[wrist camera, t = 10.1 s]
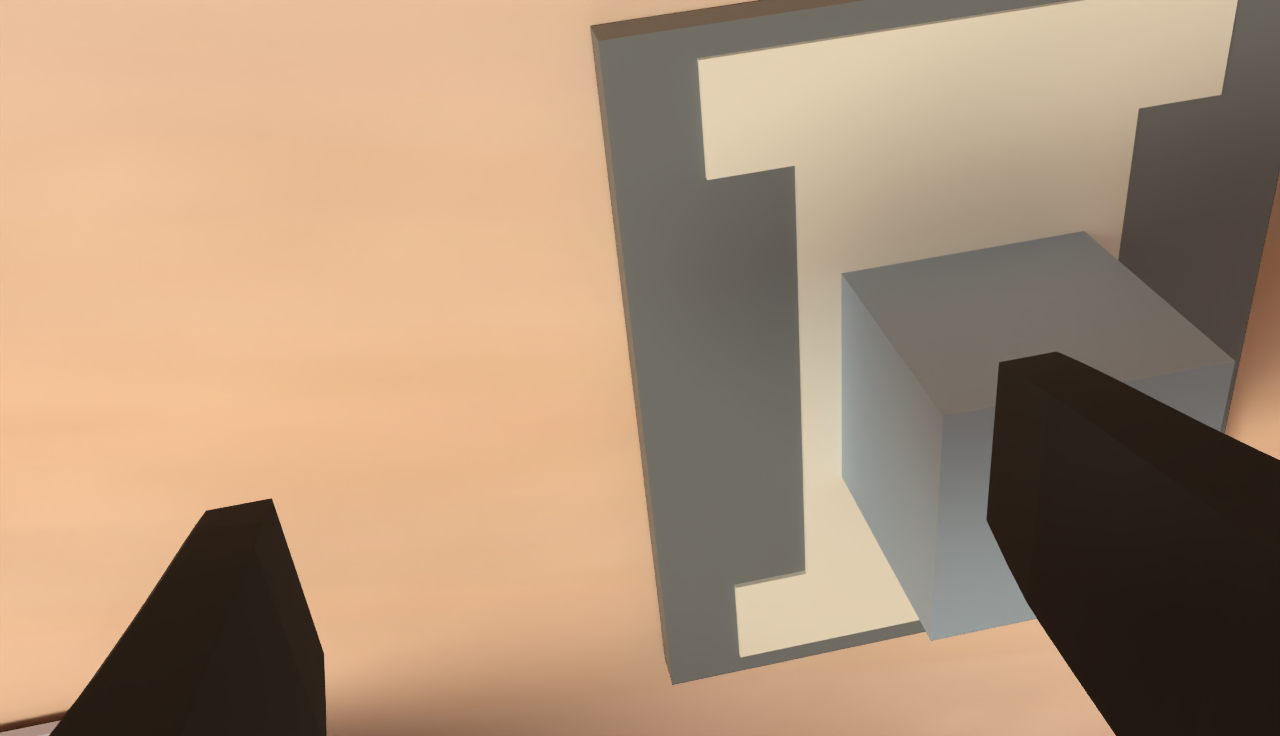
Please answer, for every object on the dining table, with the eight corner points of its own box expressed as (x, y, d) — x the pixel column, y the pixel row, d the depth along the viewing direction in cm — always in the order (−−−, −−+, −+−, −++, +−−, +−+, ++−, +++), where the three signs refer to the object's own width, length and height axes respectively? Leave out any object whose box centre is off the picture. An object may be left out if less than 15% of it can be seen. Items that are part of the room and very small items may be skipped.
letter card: (665, 658, 26) (673, 688, 26) (590, 26, 19) (599, 43, 18) (1175, 551, 28) (1197, 577, 27) (1297, -81, 20) (1334, -70, 19)
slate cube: (842, 477, 23) (931, 640, 20) (841, 273, 21) (942, 416, 17) (1059, 435, 24) (1188, 587, 20) (1084, 231, 21) (1235, 361, 18)
